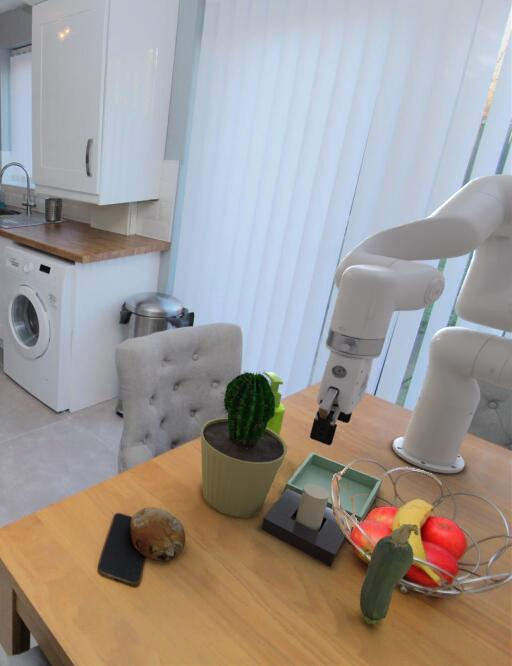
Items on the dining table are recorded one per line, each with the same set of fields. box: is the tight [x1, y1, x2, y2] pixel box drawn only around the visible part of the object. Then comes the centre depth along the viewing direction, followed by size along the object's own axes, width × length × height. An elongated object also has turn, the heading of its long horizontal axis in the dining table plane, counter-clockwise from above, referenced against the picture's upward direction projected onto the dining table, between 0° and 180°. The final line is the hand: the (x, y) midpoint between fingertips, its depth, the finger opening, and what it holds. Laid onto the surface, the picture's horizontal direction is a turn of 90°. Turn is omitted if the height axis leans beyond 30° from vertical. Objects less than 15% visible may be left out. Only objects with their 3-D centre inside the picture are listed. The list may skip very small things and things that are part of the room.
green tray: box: [283, 451, 383, 522], centre depth 100 cm, size 15×13×3 cm
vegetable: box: [359, 523, 421, 626], centre depth 72 cm, size 4×4×20 cm
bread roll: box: [129, 506, 186, 562], centre depth 90 cm, size 10×10×8 cm
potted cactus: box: [200, 369, 288, 518], centre depth 95 cm, size 15×15×30 cm
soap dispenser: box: [263, 371, 286, 436], centre depth 111 cm, size 6×7×20 cm
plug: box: [294, 484, 329, 533], centre depth 90 cm, size 4×4×10 cm
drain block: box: [260, 489, 348, 568], centre depth 91 cm, size 12×12×3 cm
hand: (329, 430), depth 85 cm, fingers open, 9 cm apart
